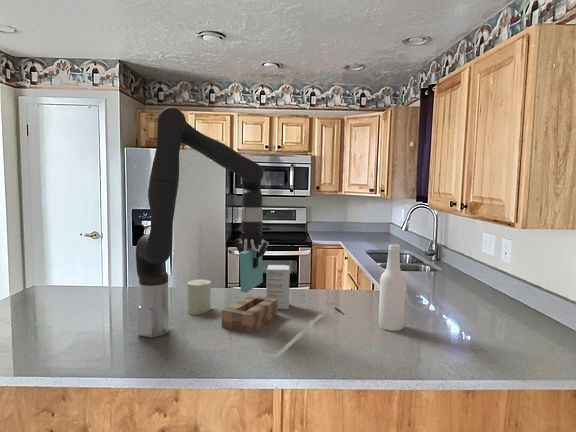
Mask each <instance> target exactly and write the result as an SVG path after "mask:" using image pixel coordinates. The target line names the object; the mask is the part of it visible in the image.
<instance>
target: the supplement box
mask: <svg viewBox="0 0 576 432" xmlns="http://www.w3.org/2000/svg"><path fill="white" fill-rule="evenodd" d="M290 269H291V267H290V265H287V264H268V265H267V268H266V283H265V284H266V286H265V287H266V289H265V290H266V291H265V293H266V297H265V298H272V299H278V310H282V309H283V310H289V308H290V285H291V284H290V283H291V282H290V278H291V277H290V275H291V274H290V273H291V270H290Z"/></svg>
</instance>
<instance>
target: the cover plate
mask: <svg viewBox="0 0 576 432" xmlns="http://www.w3.org/2000/svg"><path fill="white" fill-rule="evenodd" d="M261 247H262V246H261V244H260V245H259V251H260V249H261ZM255 249H256V248H255ZM238 254H239V256H238V257H239V278H240V279H239V281H240V283H239V284H240V285H239V286H240V292H241V293H246V294H247V293H249V292H250V291H252V290H253V289H255V288H256V287H257V286H259V285H260V284H262V283H264V278H263V277H264V276H263V274H264V272H263V256H261V257H259V261H258V267H257V268H255V269H254V268H253V252H252V248H249V249H247V250H245V251H242V252H240V253H239V252H238Z"/></svg>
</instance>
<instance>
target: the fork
mask: <svg viewBox="0 0 576 432" xmlns="http://www.w3.org/2000/svg"><path fill="white" fill-rule="evenodd" d="M325 301H326V304H327V305H328V306H331V307H332V308H333V309H334V310H336V312H339V313H340V314H341V315H343V316H344V315H345V312H344V313H343V311H342V310H341V309H339V308H337V306H335V305H334V303H333V301H332V300H331V299H329V300H328V299H325Z"/></svg>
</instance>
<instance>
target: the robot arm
mask: <svg viewBox="0 0 576 432" xmlns="http://www.w3.org/2000/svg"><path fill="white" fill-rule="evenodd" d="M156 122H157V123H156V125H157V127H156V128H157V129H156V130H157V131H156V135H157V136H156V147H155V153H154V158H153V161H152V165H151V171H150V175H149V182H148V189H147V198H148V199H147V200H148V205H149V210H150V216H151V219H150V220H151V223H150V229H149V233H146V234H144V235H142V236H141V237H140V238H139V239H138V240H137V242H136V245H135V246H136V247H135V263H136V274H137V277H138V285H139V287H138V288H139V289H138V291H139V292H138V293H139V294H138V295H139V298H138V299H139V306H137V309H136V310H137V312H136V313H137V317H136V318H137V335H138V336H141V337H144V338H145V337H146V338H149V339H152V338H156V337H162V336H164V335H166V334H167V333H168V332H169V322H170V321H169V320H170V319H169V274H168V272H167V271H166V269H165V267H164V263H166V262H167V261H168V260H169V258H170V256H171V255H172V250H173V228H174V227H173V225H174V218H175V217H174V216H175V210H176V201H177V195H178V189H179V181H180V151H181V150H180V149H181V145H185V146H187V147H189V148H191V149H192V150H194V151H196V152H197V153H200V154H202V155H203V156H205V157H206V158H207V159H208V160H211V161H212V162H214V163H216V164H217V165H219V166H221V167H222V168H224V169H225V170H228V171H229V172H232V173H234V174H236V175H237V176H239V177H240V178H241V182H242V183H241V184H242V199H241V201H242V203H241V204H242V205H241V218H240V219H241V222H240V227H241V228H240V229H241V231H240V232H241V234H240V237H239V238H237V239H234V241H233V242H234V245H235V246H236V249H237V252H238V254H239V253H240V252H242V251H245V250H247V249H249V248H252V252H253V268H254V269H255V268H257V267H258V261H259V257H261V256H262V257H263V256H264V255H266V252H267V249H268V247H269V246H270V242H269V241H266V240H265V239H264V237H263V222H264V221H263V220H264V216H263V215H264V214H263V193H262V180H263V178H264V169H263V167H262V166H261V165H260V164H259V163H257V162H255V161H253V160H251V159H249V158H247V157H245V156H244V155H242V154H241V153H239V152H238V151H236V150H234V149H232V148H231V147H230V146H228V145H226V144H225V143H222V142H221V141H219V140H217V139H214V138H212V137H209V136H207V135H205V134H203V133H202V132H200V131H199V130H197V129H196V128H194V126H192V125H191V124H190V123H188V122H187V119H186V116H185V115H184V113H183V112H182V111H181V110H179V109H178V108H176V107H172V106H169V107H166V108H164V109H163V110H162V111H161V112H160V113H159V114H158V116H157V120H156ZM259 245H260V246H262V247H261V249H260V251H259ZM255 248H256V249H255Z"/></svg>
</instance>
